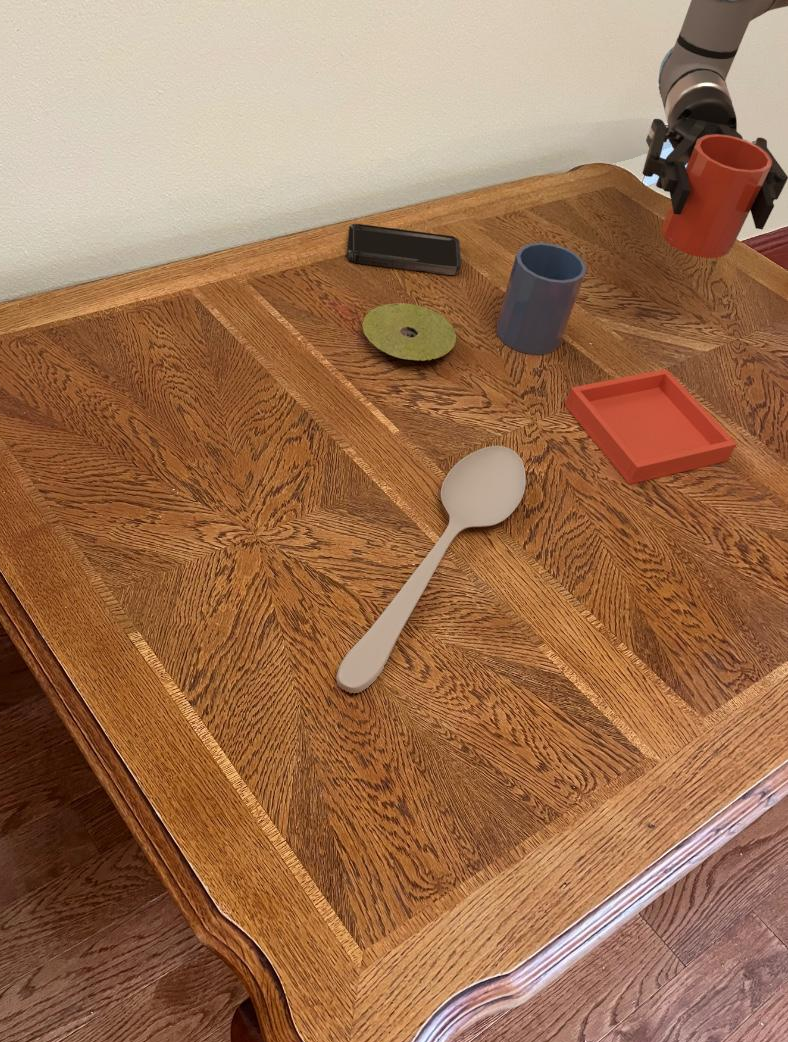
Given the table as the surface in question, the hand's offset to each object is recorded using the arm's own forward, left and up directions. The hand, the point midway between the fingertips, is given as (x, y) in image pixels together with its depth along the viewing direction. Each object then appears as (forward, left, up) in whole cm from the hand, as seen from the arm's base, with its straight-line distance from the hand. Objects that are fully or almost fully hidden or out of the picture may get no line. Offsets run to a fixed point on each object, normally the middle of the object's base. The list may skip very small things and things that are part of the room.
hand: (723, 209), depth 101 cm
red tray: (-11, +9, -20) cm, 25 cm away
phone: (+29, +21, -20) cm, 41 cm away
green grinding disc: (+11, +29, -20) cm, 37 cm away
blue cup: (+9, +13, -20) cm, 25 cm away
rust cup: (+4, -2, -6) cm, 8 cm away
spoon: (-22, +42, -20) cm, 52 cm away
